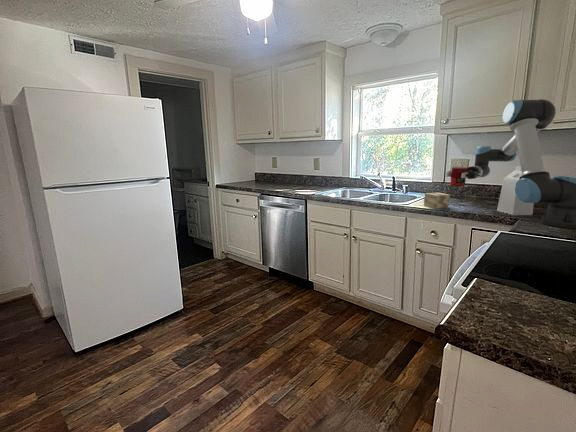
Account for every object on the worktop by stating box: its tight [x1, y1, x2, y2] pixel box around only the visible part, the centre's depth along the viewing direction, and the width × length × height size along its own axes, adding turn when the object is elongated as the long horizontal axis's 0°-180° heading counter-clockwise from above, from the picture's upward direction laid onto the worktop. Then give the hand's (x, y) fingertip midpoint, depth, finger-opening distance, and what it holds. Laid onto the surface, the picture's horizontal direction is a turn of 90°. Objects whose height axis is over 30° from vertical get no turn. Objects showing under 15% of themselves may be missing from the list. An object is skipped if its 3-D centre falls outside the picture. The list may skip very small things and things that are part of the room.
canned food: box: [449, 165, 468, 187], centre depth 183 cm, size 8×8×11 cm
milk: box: [496, 165, 535, 216], centre depth 175 cm, size 12×12×26 cm
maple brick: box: [423, 192, 451, 209], centre depth 196 cm, size 10×10×8 cm
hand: (454, 175), depth 180 cm, fingers closed on canned food, 8 cm apart
